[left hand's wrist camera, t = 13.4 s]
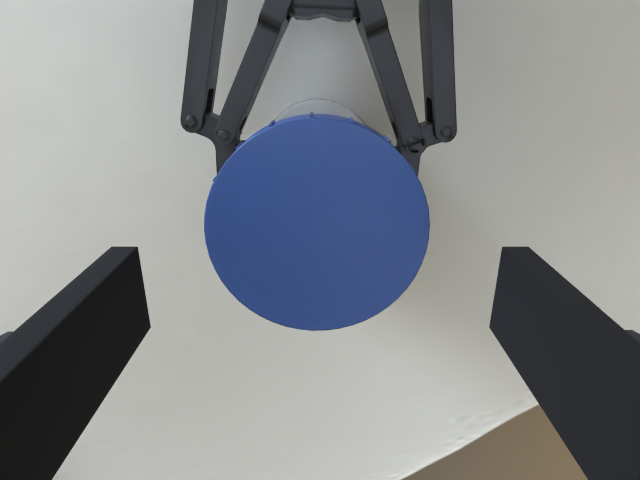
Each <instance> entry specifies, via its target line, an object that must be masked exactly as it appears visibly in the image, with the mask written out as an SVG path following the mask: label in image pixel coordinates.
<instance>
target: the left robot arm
mask: <svg viewBox="0 0 640 480" xmlns="http://www.w3.org/2000/svg"><path fill="white" fill-rule="evenodd" d="M150 327H151V326H150V320H149V314H148V308H147V302H146V296H145V289H144V283H143V277H142V271H141V265H140V258H139V252H138V247H111V248H110V249H109V250H107V251H106V252H105V253H104V254H103V255H102V256H100V257H99V258H98V259H97V260H96V261H95V262H94V263H92V264H91V265H90V266H89V267H88V268H87V269H85V270H84V271H83V272H82V273H81V274H80V275H79V276H77V277H76V278H75V279H74V280H73V281H72V282H70V283H69V284H68V285H67V286H66V287H65V288H64V289H62V290H61V291H60V292H59V293H58V294H57V295H56V296H54V297H53V298H52V299H51V300H50V301H49V302H47V303H46V304H45V305H44V306H43V307H42V308H41V309H39V310H38V311H37V312H36V313H35V314H34V315H32V316H31V317H30V318H29V319H28V320H27V321H26V322H24V323H23V324H22V325H21V326H20V327H19V328H17V329H16V330H15V331H14V332H7V333H5V334H3V335H1V336H0V480H52V478H53V477H54V475H55V474H56V472H57V471H58V469H59V468H60V466H61V465H62V463H63V462H64V460H65V458H66V457H67V455H68V454H69V452H70V451H71V449H72V448H73V446H74V445H75V443H76V441H77V440H78V438H79V437H80V435H81V434H82V432H83V431H84V429H85V428H86V426H87V425H88V423H89V421H90V420H91V418H92V417H93V415H94V414H95V412H96V411H97V409H98V408H99V406H100V404H101V403H102V401H103V400H104V398H105V397H106V395H107V394H108V392H109V391H110V389H111V387H112V386H113V384H114V383H115V381H116V380H117V378H118V377H119V375H120V374H121V372H122V371H123V369H124V367H125V366H126V364H127V363H128V361H129V360H130V358H131V357H132V355H133V354H134V352H135V350H136V349H137V347H138V346H139V344H140V343H141V341H142V340H143V338H144V337H145V335H146V334H147V332H148V330H149V329H150ZM489 327H490V329H491V330H492V332H493V334H494V335H495V337H496V338H497V340H498V341H499V343H500V344H501V346H502V347H503V349H504V350H505V352H506V354H507V355H508V357H509V358H510V360H511V361H512V363H513V364H514V366H515V367H516V369H517V371H518V372H519V374H520V375H521V377H522V378H523V380H524V381H525V383H526V384H527V386H528V387H529V389H530V391H531V392H532V394H533V395H534V397H535V398H536V400H537V401H538V403H539V404H540V406H541V407H542V409H543V411H544V412H545V414H546V415H547V417H548V418H549V420H550V421H551V423H552V425H553V426H554V428H555V429H556V431H557V432H558V434H559V435H560V437H561V438H562V440H563V441H564V443H565V445H566V446H567V448H568V449H569V451H570V452H571V454H572V455H573V457H574V458H575V460H576V461H577V463H578V465H579V466H580V468H581V469H582V471H583V472H584V474H585V475H586V477H587V478H588V480H640V334H639V333H637V332H635V331H633V330H624V329H623V328H621V327H620V326H619V325H618V324H617V323H616V322H614V321H613V320H612V319H611V318H610V317H609V316H608V315H606V314H605V313H604V312H603V311H602V310H601V309H599V308H598V307H597V306H596V305H595V304H594V303H593V302H591V301H590V300H589V299H588V298H587V297H586V296H584V295H583V294H582V293H581V292H580V291H579V290H578V289H576V288H575V287H574V286H573V285H572V284H571V283H570V282H568V281H567V280H566V279H565V278H564V277H563V276H561V275H560V274H559V273H558V272H557V271H556V270H555V269H553V268H552V267H551V266H550V265H549V264H548V263H546V262H545V261H544V260H543V259H542V258H541V257H540V256H538V255H537V254H536V253H535V252H534V251H533V250H531V249H530V248H529V247H502V252H501V258H500V265H499V271H498V277H497V283H496V289H495V296H494V302H493V308H492V314H491V320H490V326H489Z"/></svg>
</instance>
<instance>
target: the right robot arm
mask: <svg viewBox="0 0 640 480" xmlns="http://www.w3.org/2000/svg"><path fill="white" fill-rule="evenodd" d="M227 1H228V0H194V5H193V14H192V23H191V32H190V41H189V49H188V58H187V67H186V76H185V85H184V94H183V103H182V112H181V125H182V127H183V128H184V129H185V130H186V131H188V132H190V133H197V134H200V135H202V136H205V137H207V138H209V139H210V140H211V141H212V142H213V143H214V145H215V148H216V165H217V174H218V173H219V171H220V170H221V168H222V167H223V165H224V164H225V162H226V161H227V160H228V159H229V158H230V156H231V155H232V154H233V153H234V152H235V151H236V149H235V148H236V147H237V146H238V145H239V144H240V143H241V142H243V143H244V142H245V141H243V140H241V141H240V135H241V134H242V129H243V127H244V125H245V122H246V120H247V118H248V115H249V113H250V111H251V108H252V106H253V104H254V101H255V99H256V97H257V94H258V92H259V90H260V87H261V85H262V83H263V80H264V78H265V76H266V73H267V71H268V69H269V66H270V64H271V62H272V59H273V57H274V55H275V52H276V50H277V48H278V45H279V43H280V41H281V38H282V36H283V35H284V33H285V31H286V29H287V27H288V24H289V22H290V20H291V17H294V18H295V19H296V20H312V19H316V18H320V17H326V18H329V19H332V20H335V21H342V22H351V20H354V19H355V22H356V25H357V28H358V31H359V34H360V36H361V38H362V40H363V43H364V46H365V49H366V52H367V54H368V57H369V60H370V63H371V66H372V69H373V72H374V75H375V78H376V81H377V84H378V87H379V90H380V93H381V96H382V98H383V101H384V104H385V107H386V110H387V113H388V116H389V119H390V122H391V125H392V128H393V131H394V134H395V137H396V139H397V147H396V146H394V147H395V148H396V149H397V150H398V151H399V152H400V153H401V154H402V155H403V157H404V158H405V159H406V160H407V161H408V163H409V164H410V165H411V166H412V167H413V168H414V169H415V170H416V175H417V177H418V170H419V162H420V156H421V153H422V152H424V150H425V149H426V148H427V147H428V146H431V145H434V144H437V143H440V142H449V141H451V140H452V139H454V137H455V135H456V132H457V123H456V96H455V68H454V41H453V14H452V0H419V21H420V38H421V54H422V70H423V87H424V103H425V120H426V121H424V122H421V123H419V122H418V119H417V116H416V113H415V110H414V107H413V104H412V101H411V97H410V94H409V91H408V88H407V85H406V82H405V79H404V75H403V72H402V69H401V66H400V63H399V60H398V57H397V54H396V50H395V47H394V44H393V41H392V38H391V35H390V32H389V28H388V21H387V17H386V14H385V11H384V7H383V4H382V1H381V0H265V2H264V4H263V7H262V9H261V12H260V15H259V19H258V23H257V26H256V28H255V31H254V33H253V36H252V38H251V40H250V43H249V45H248V48H247V50H246V53H245V55H244V58H243V60H242V63H241V65H240V68H239V70H238V72H237V75H236V77H235V80H234V82H233V85H232V87H231V90H230V92H229V95H228V97H227V100H226V102H225V104H224V107H223V109H222V112H221V114H220V116H219V115H217V114H214V113H213V105H214V98H215V91H216V83H217V76H218V69H219V62H220V54H221V47H222V40H223V32H224V25H225V18H226V10H227Z"/></svg>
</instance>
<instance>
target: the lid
mask: <svg viewBox="0 0 640 480" xmlns="http://www.w3.org/2000/svg"><path fill="white" fill-rule="evenodd" d="M390 142H391V141H390V140H389V139H388V138H387V137H386V136H385V135H384V136H382V135H380V134H379V133H378V132H376V131H375V130H373V129H371V128H369V127H368V126H366V125H364V124H362V123H359V122H357V121H354V119H353V118H352V117H350V118H345V117H341V116H337V115H329V114H313V112H310V114H304V115H298V116H292V117H289V118H286V119H282V120H279V121H277V122H275V120H274V121H272V122H271V123H270V124H269V125H268V126H266V127H264V128H263V129H261V130H259V131H258V132H256V133H255V134H253V135H252V136H251V137H250V138H249V139H247V140H246V141H245V142H244V143H243V142H241V143H240V144H239V145H238V146H237V147H236V148H235V149H236V151H235V152H234V153H233V154H232V155H231V156H230V158H229V159H228V160H227V161H226V162H225V164H224V165H223V167H222V168H221V170H220V171H219V173H218V174H217V176H216V177H215V178H214V180H213V181H214V183H213V185H212V187H211V189H210V193H209V196H208V199H207V203H206V209H205V217H204V231H205V239H206V245H207V249H208V253H209V257H210V259H211V261H212V264H213V266H214V269H215V270H216V272H217V274H218V276H219V277H220V279H221V281H222V282H223V283H224V285H225V286H226V287H227V289H228V290H229V291H230V292H231V293H232V294H233V295H234V296H235V297H236V299H237V300H238V301H239V302H241V303H242V304H243V305H245V306H246V307H247V308H248V309H250V310H251V311H253V312H254V313H256V314H258V315H259V316H261V317H263V318H265V319H267V320H269V321H272V322H274V323H277V324H280V325H283V326H286V327H291V328H296V329H302V330H312V331H315V330H332V329H339V328H343V327H347V326H351V325H354V324H357V323H360V322H362V321H365V320H367V319H369V318H371V317H373V316H375V315H377V314H378V313H380V312H381V311H383V310H384V309H386V308H387V307H389V306H390V305H391V304H392V303H393V302H394V301H395V300H397V299H398V298H399V297H400V296H401V294H402V293H403V292H404V291H405V290H406V289H407V288H408V286H409V285H410V283H411V282H412V281H413V279H414V278H415V276H416V274H417V272H418V270H419V268H420V266H421V264H422V261H423V259H424V256H425V253H426V249H427V244H428V240H429V228H430V221H429V209H428V205H427V200H426V196H425V193H424V190H423V188H422V185H421V182H420V181H419V179H418V177H417V175H416V170H415V169H414V168H413V167H412V166H411V165H410V164H409V163H408V161H407V160H406V159H405V158H404V157H403V155H402V154H401V153H400V152H399V151H398V150H397V149H396V148H395V147H394V146H393V145H392V144H391V143H390Z"/></svg>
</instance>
